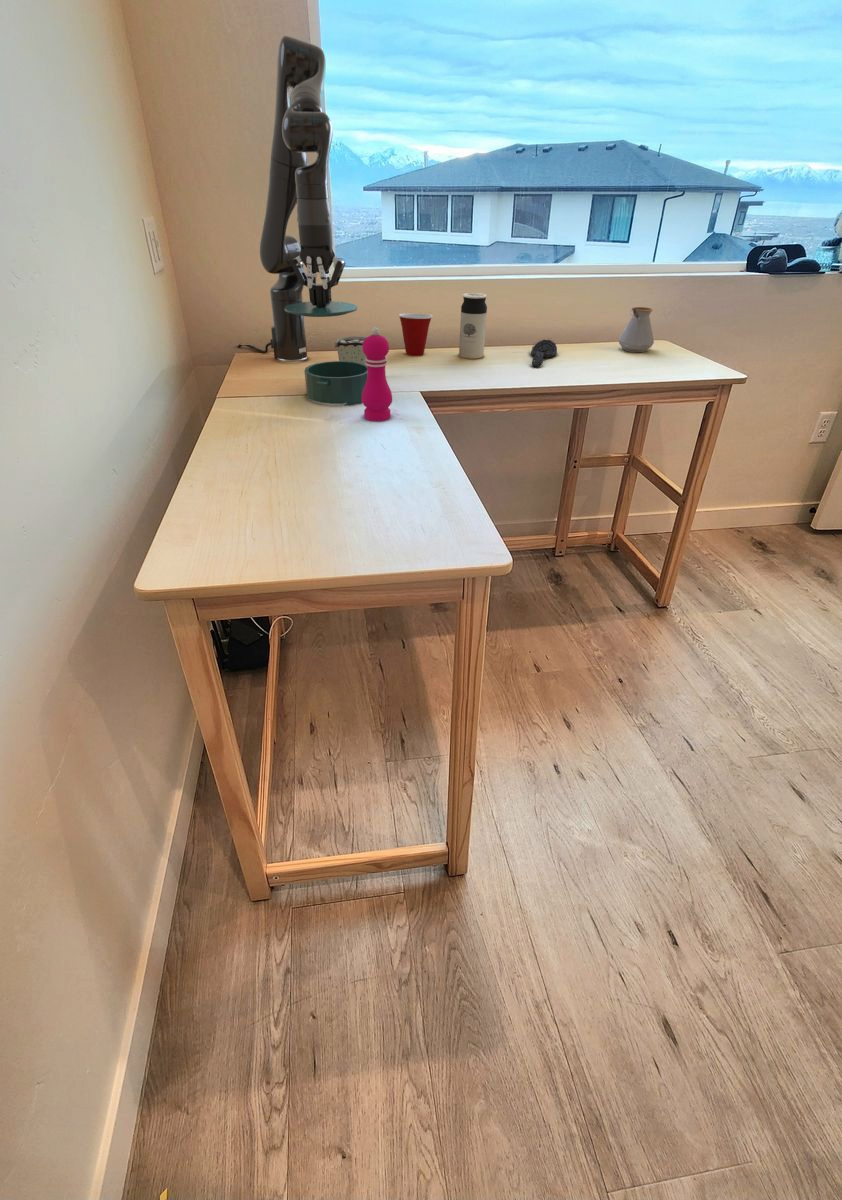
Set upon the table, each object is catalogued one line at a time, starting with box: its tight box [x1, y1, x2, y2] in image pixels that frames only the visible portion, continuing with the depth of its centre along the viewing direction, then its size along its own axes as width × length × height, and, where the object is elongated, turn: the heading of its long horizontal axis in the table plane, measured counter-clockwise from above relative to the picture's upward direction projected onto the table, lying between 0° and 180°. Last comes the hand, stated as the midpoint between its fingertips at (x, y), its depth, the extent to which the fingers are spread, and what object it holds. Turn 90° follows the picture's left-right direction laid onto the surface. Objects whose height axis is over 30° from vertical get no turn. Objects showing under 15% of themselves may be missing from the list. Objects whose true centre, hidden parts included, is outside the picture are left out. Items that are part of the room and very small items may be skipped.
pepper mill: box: [361, 327, 393, 422], centre depth 142 cm, size 7×7×20 cm
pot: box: [304, 360, 368, 407], centre depth 159 cm, size 17×22×7 cm
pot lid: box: [285, 283, 358, 318], centre depth 149 cm, size 18×18×6 cm
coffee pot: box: [618, 306, 655, 353], centre depth 202 cm, size 21×12×15 cm, turn 152°
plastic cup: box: [398, 313, 433, 357], centre depth 197 cm, size 11×11×12 cm
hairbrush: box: [530, 337, 558, 368], centre depth 197 cm, size 8×4×25 cm
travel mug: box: [458, 292, 488, 360], centre depth 194 cm, size 8×8×18 cm
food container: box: [334, 335, 368, 365], centre depth 175 cm, size 12×6×10 cm, turn 85°
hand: (320, 305), depth 150 cm, fingers closed on pot lid, 2 cm apart
